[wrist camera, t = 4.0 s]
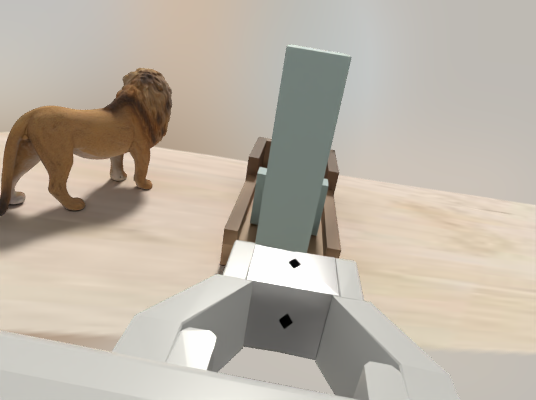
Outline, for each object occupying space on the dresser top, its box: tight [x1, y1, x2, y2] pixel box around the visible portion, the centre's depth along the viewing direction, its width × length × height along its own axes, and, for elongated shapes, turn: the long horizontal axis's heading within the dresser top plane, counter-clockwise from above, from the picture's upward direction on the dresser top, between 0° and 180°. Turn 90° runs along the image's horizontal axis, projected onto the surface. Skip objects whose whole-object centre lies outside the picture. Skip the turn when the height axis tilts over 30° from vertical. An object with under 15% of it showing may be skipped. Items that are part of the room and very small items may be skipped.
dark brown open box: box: [246, 137, 339, 195], centre depth 33 cm, size 7×6×4 cm
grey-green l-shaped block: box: [250, 44, 351, 253], centre depth 22 cm, size 4×4×11 cm
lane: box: [220, 175, 341, 266], centre depth 27 cm, size 7×9×2 cm
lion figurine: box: [0, 68, 172, 216], centre depth 28 cm, size 15×5×9 cm, turn 152°
